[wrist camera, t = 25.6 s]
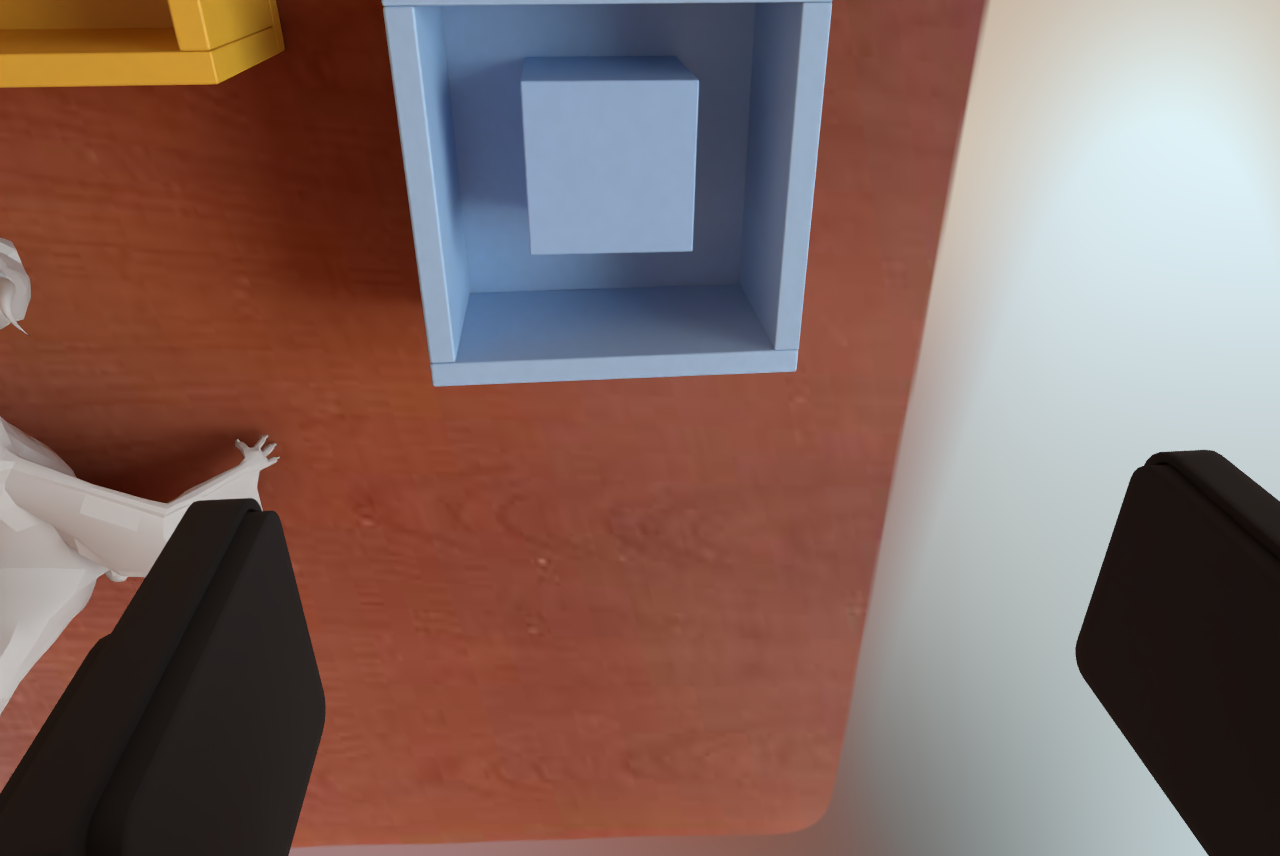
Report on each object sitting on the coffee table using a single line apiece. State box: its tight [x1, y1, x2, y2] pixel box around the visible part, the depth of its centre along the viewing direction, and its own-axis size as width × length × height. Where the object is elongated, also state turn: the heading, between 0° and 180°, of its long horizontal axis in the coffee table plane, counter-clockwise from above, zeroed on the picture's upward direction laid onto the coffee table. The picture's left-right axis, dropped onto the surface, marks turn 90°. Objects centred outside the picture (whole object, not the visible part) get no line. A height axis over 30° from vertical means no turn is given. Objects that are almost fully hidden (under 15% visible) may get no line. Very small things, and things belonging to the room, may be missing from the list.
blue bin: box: [381, 0, 832, 386], centre depth 28 cm, size 12×12×7 cm
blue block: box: [520, 56, 699, 255], centre depth 28 cm, size 5×5×5 cm
